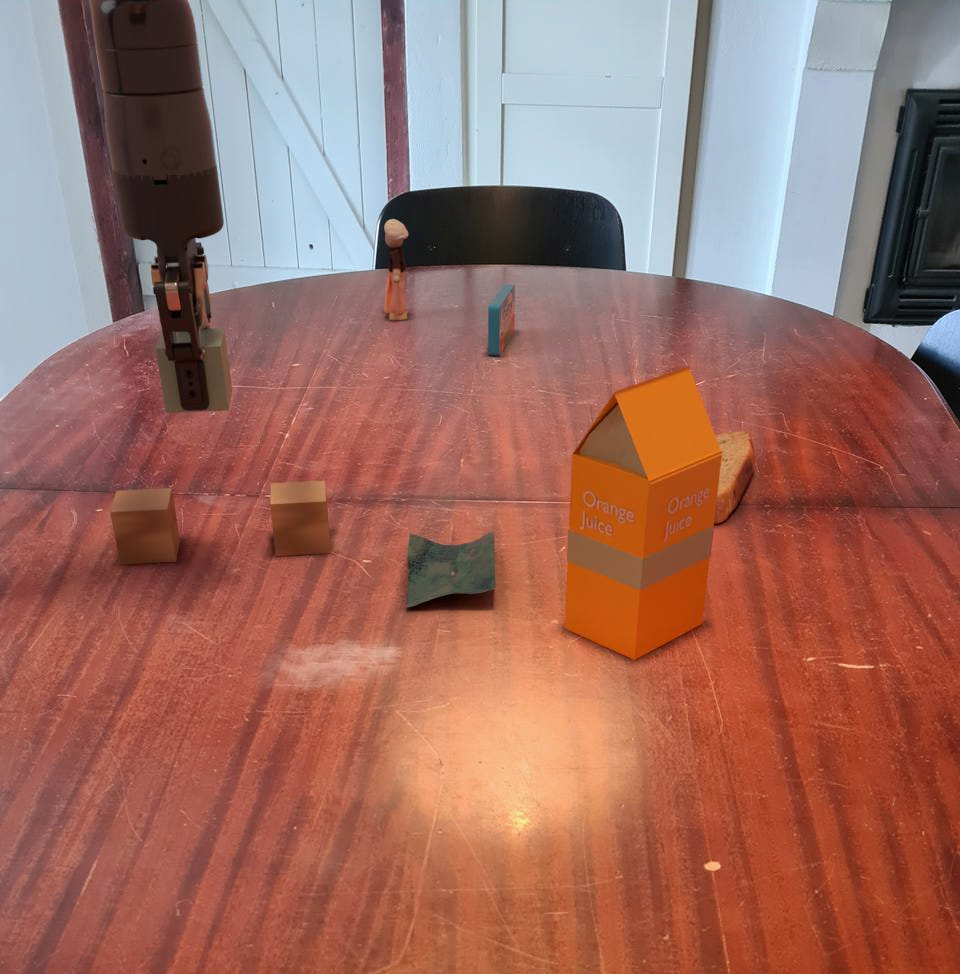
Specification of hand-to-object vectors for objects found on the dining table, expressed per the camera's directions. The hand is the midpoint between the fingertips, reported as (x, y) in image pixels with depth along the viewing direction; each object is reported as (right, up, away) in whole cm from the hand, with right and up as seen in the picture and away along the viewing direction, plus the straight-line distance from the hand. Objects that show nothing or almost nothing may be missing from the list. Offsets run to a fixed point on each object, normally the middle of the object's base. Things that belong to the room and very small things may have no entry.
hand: (198, 396), depth 101 cm
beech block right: (+6, -8, +15) cm, 18 cm away
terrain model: (+20, -13, +9) cm, 26 cm away
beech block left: (-7, -9, +13) cm, 18 cm away
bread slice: (+46, +1, +26) cm, 53 cm away
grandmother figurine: (+11, +39, +76) cm, 87 cm away
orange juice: (+36, -19, +1) cm, 40 cm away
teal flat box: (+26, +31, +66) cm, 77 cm away
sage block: (0, 0, 0) cm, 0 cm away
